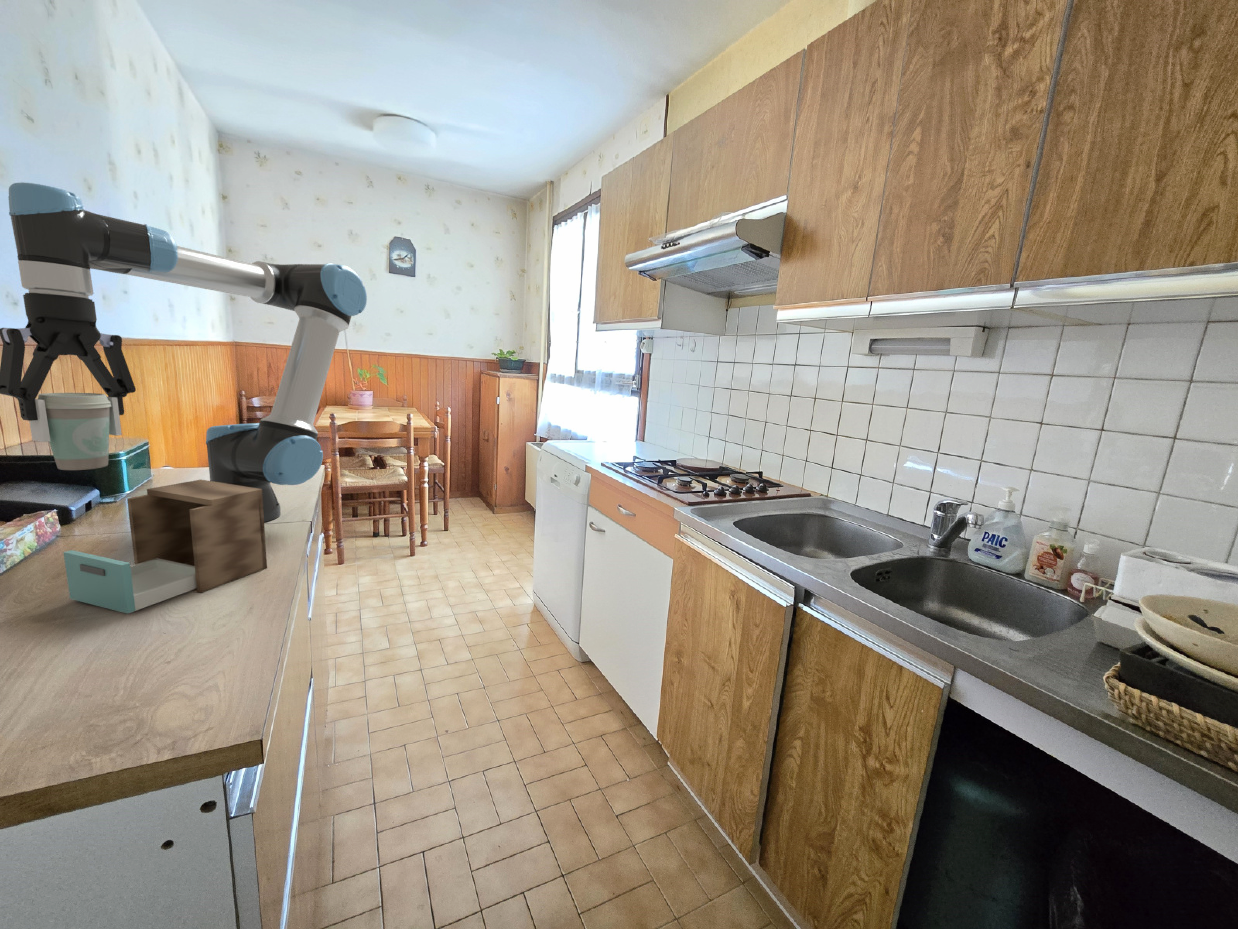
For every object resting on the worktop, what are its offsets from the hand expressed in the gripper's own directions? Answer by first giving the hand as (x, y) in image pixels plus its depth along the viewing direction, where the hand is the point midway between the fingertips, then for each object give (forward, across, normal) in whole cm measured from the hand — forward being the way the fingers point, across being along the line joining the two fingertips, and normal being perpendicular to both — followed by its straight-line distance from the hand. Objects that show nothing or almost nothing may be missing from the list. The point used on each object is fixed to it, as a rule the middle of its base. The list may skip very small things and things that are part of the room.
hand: (79, 437), depth 83 cm
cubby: (+25, -8, +13) cm, 29 cm away
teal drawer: (+24, +1, +13) cm, 27 cm away
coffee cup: (+5, 0, 0) cm, 5 cm away
